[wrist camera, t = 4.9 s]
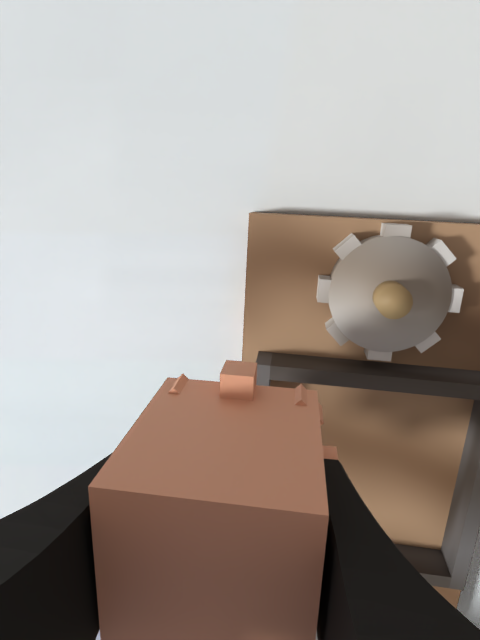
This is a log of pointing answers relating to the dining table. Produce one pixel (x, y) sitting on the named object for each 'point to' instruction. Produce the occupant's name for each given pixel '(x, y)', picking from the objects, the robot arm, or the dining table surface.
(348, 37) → the dining table surface
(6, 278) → the dining table surface
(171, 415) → the tabbed peach cube
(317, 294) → the gear board
